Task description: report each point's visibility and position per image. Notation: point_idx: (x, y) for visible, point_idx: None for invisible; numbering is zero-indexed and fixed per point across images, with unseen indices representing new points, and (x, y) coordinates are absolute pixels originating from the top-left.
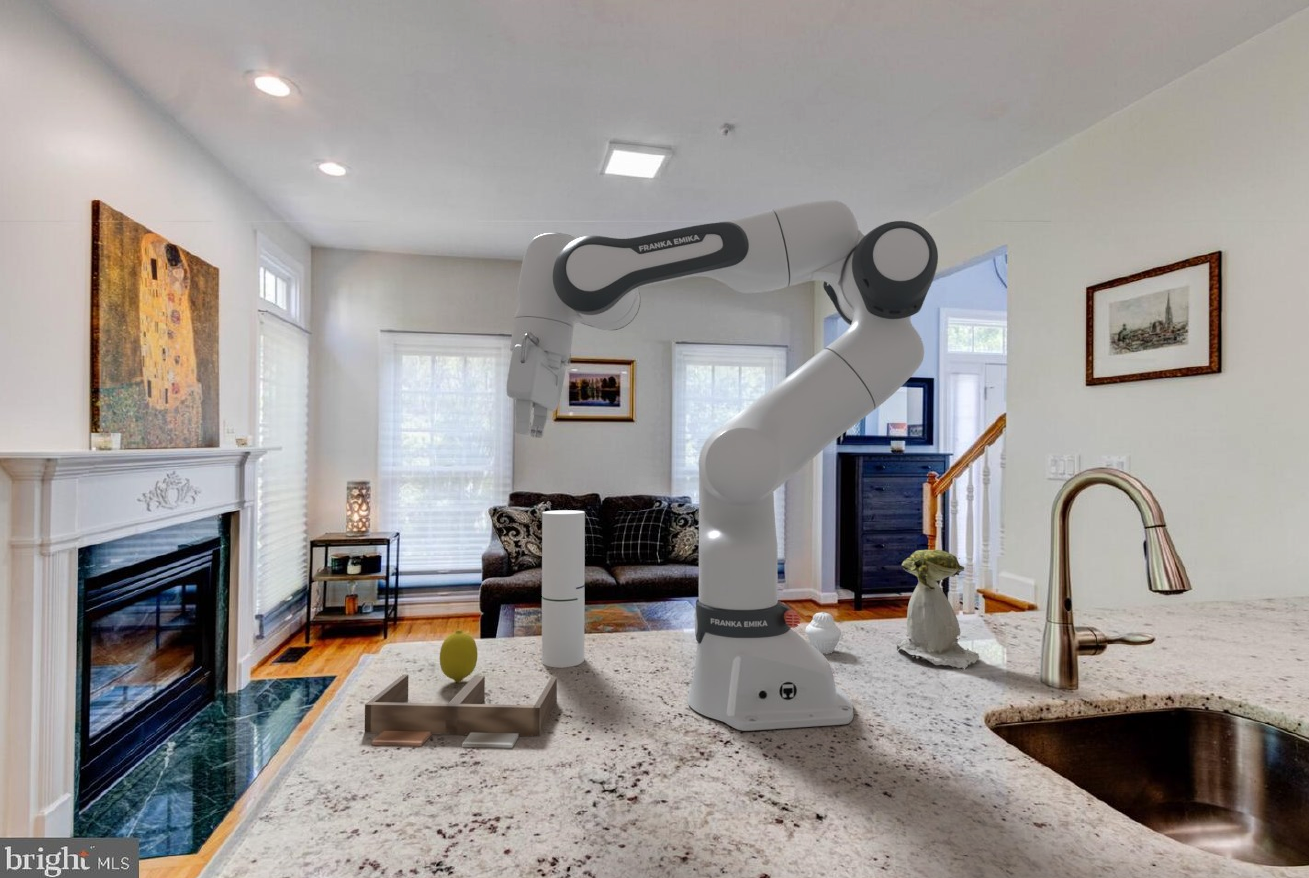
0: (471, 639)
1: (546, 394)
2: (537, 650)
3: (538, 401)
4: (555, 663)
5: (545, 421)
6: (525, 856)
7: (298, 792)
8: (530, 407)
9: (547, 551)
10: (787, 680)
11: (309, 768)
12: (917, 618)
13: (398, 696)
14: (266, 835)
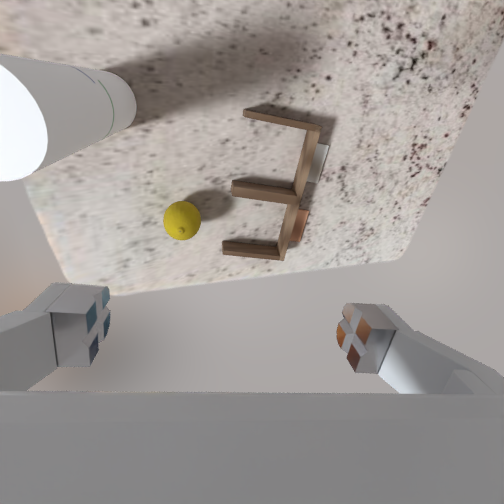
0: (183, 214)
1: (332, 489)
2: None
3: (500, 395)
4: (135, 112)
5: (5, 331)
6: (455, 124)
7: (347, 257)
8: (499, 378)
9: (78, 147)
10: None
11: (321, 262)
12: None
13: (240, 246)
14: (383, 254)
